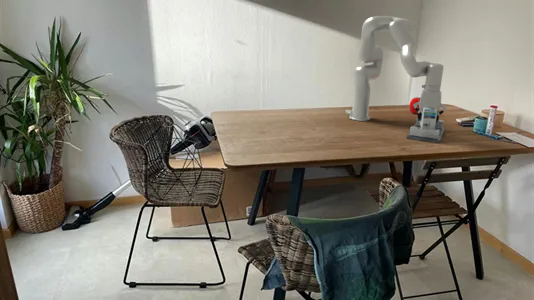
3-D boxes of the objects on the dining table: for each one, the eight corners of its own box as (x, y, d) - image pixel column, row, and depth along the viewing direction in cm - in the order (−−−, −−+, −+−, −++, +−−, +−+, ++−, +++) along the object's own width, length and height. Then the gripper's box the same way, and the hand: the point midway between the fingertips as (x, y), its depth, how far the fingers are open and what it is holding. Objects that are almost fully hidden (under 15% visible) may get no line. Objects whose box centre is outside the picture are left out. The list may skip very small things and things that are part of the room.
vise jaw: (415, 125, 238) (416, 114, 236) (417, 122, 243) (418, 112, 241) (442, 128, 233) (443, 118, 231) (443, 126, 238) (444, 115, 236)
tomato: (403, 111, 274) (405, 96, 270) (418, 110, 279) (420, 94, 276) (416, 116, 264) (419, 99, 261) (431, 114, 270) (434, 98, 266)
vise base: (406, 138, 221) (407, 127, 219) (414, 126, 242) (415, 116, 240) (439, 143, 215) (441, 132, 213) (444, 130, 236) (445, 120, 234)
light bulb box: (435, 130, 220) (438, 109, 216) (421, 129, 221) (424, 108, 217) (432, 124, 229) (435, 104, 226) (418, 123, 231) (421, 104, 227)
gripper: (413, 87, 219) (409, 120, 225) (450, 91, 211) (444, 125, 217) (415, 85, 225) (411, 117, 231) (451, 88, 218) (446, 121, 224)
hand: (427, 121), depth 224 cm, fingers closed on light bulb box, 7 cm apart
